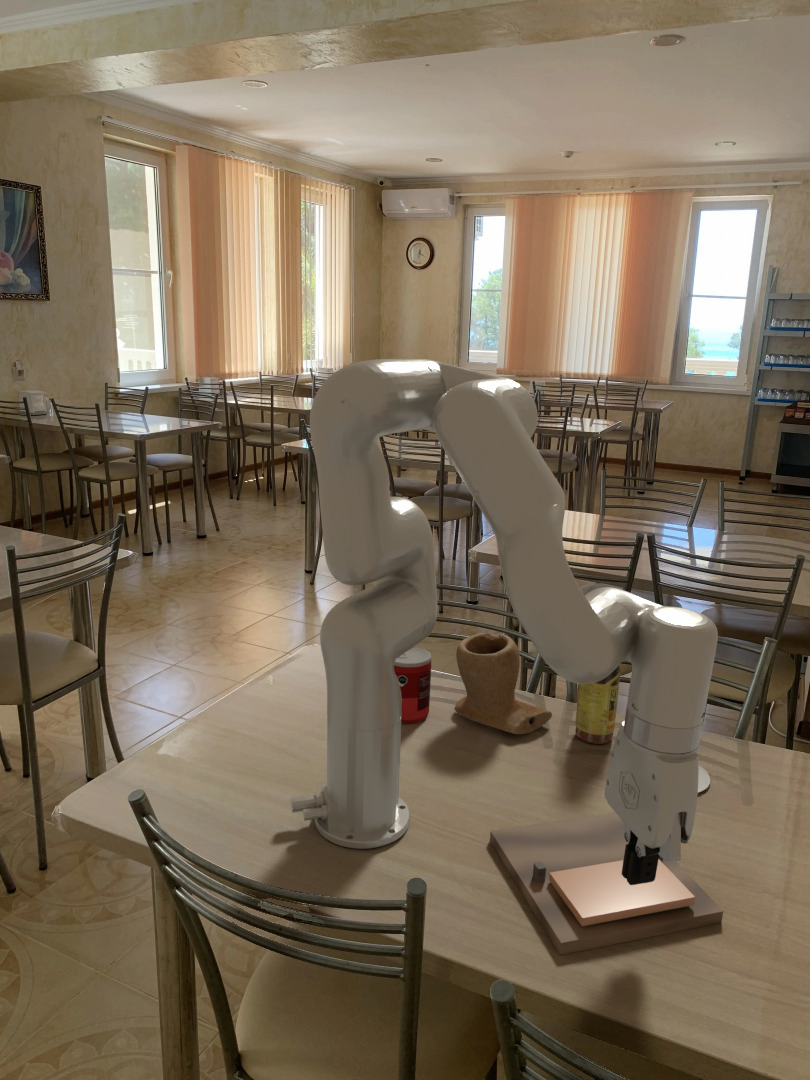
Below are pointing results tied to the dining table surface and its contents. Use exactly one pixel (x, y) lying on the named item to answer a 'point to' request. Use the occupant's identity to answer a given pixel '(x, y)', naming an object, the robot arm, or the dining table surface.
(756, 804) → the dining table surface
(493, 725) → the clay platform pipe
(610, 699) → the sauce bottle
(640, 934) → the board
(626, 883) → the tile
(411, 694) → the canned food
